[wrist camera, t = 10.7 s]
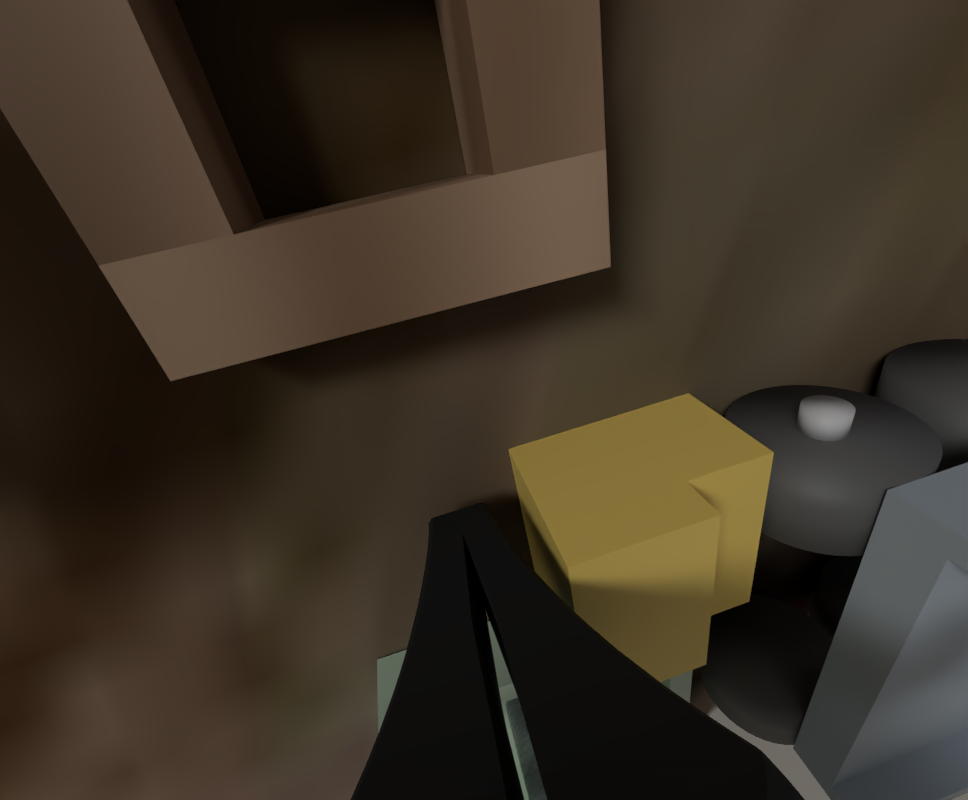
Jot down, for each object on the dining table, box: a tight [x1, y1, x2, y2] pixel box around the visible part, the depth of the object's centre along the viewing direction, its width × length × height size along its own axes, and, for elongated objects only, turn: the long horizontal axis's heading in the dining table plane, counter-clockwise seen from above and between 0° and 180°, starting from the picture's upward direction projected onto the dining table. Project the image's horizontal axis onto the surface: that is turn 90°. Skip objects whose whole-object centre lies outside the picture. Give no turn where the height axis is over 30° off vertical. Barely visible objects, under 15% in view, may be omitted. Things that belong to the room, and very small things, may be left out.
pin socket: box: [0, 0, 611, 381], centre depth 6 cm, size 7×7×2 cm
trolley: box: [700, 339, 968, 800], centre depth 12 cm, size 9×12×6 cm
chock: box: [508, 393, 774, 682], centre depth 11 cm, size 5×5×4 cm
